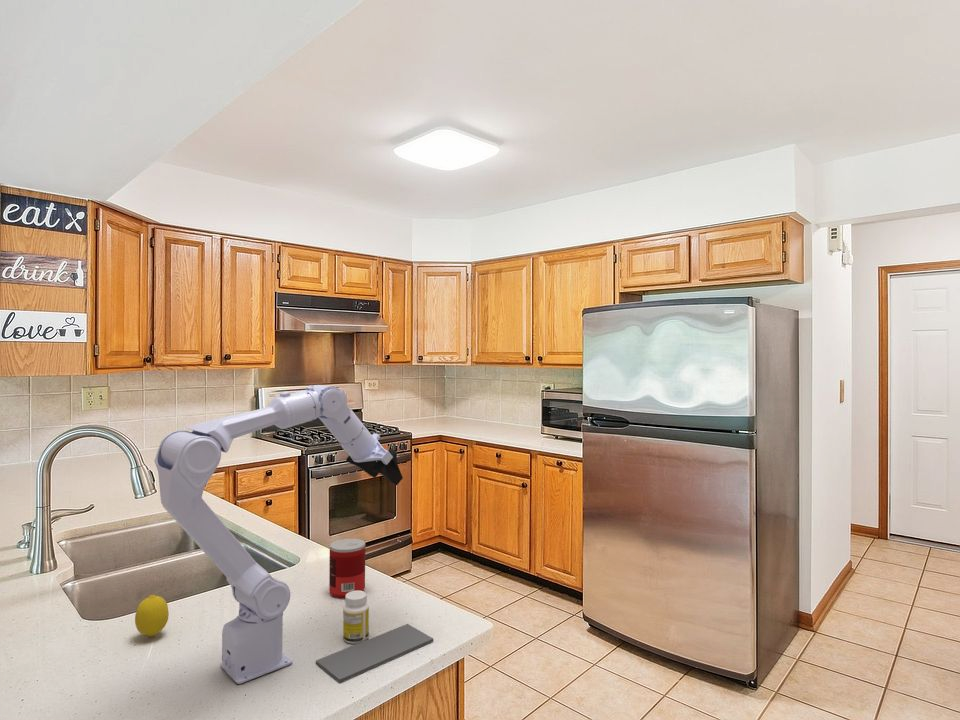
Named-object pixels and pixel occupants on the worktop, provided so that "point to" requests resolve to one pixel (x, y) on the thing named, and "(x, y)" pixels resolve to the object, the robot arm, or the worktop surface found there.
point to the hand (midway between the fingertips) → (387, 477)
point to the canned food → (346, 567)
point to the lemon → (151, 615)
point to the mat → (373, 652)
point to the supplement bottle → (355, 617)
